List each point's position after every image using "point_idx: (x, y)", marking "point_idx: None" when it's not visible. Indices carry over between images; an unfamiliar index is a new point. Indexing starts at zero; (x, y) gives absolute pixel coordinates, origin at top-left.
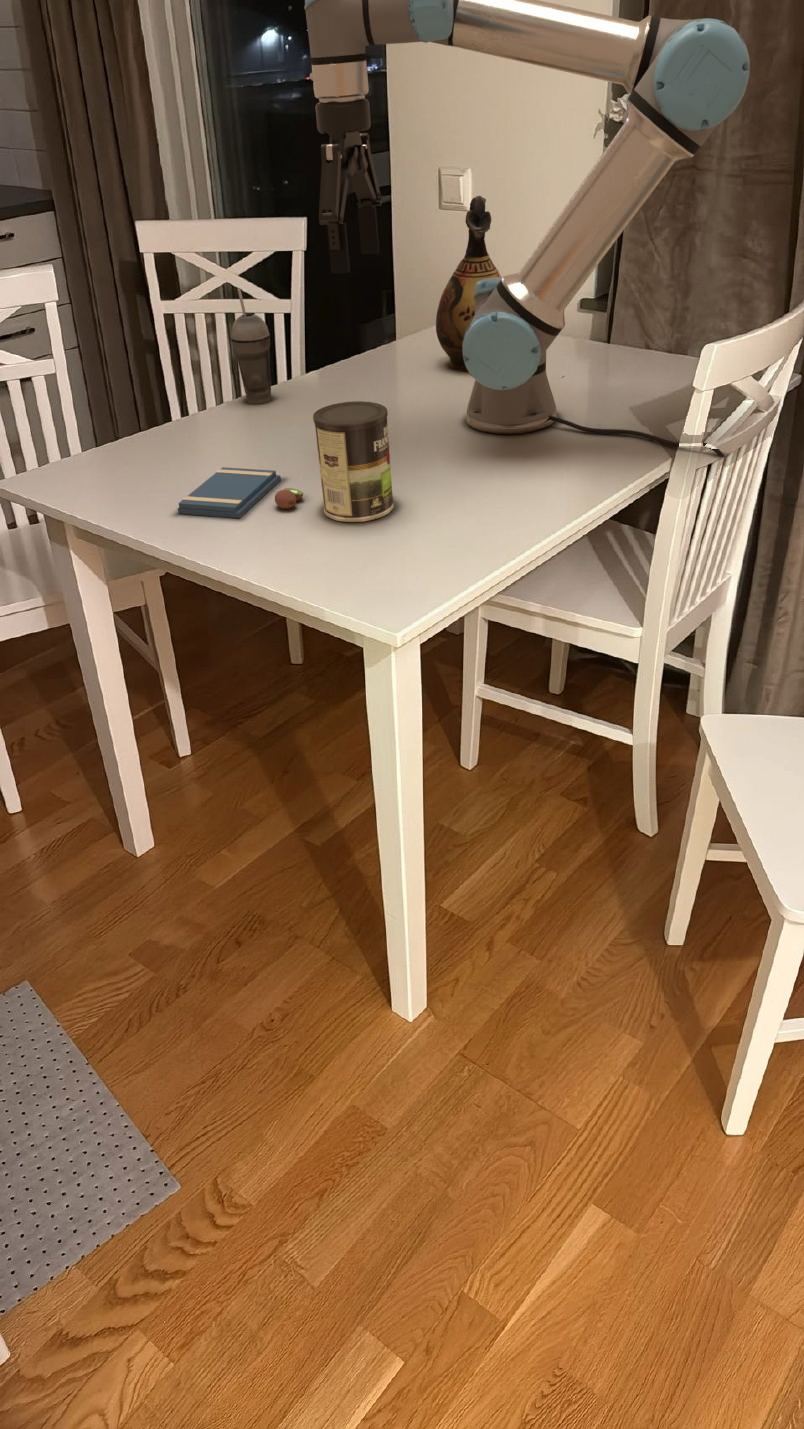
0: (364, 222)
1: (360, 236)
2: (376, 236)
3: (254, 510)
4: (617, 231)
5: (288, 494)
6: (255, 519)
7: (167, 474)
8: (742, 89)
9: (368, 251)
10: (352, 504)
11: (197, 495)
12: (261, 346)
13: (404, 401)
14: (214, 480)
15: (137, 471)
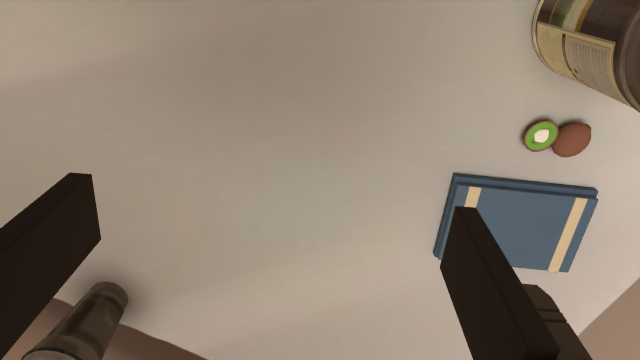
0: (23, 301)
1: (63, 280)
2: (50, 210)
3: (566, 177)
4: None
5: (586, 135)
6: (600, 166)
7: (420, 318)
8: None
9: (90, 217)
10: None
11: (544, 258)
12: (77, 346)
13: (51, 60)
14: None
15: (408, 352)
